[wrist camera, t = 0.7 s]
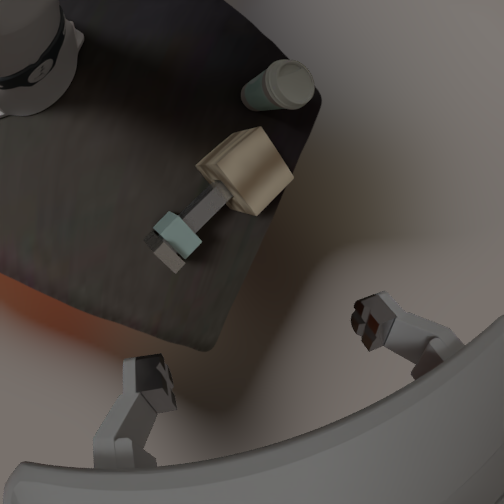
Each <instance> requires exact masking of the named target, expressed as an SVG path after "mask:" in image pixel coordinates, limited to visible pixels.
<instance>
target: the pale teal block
mask: <svg viewBox="0 0 504 504" xmlns="http://www.w3.org/2000/svg"><path fill="white" fill-rule="evenodd" d="M153 228H154V229H155V230H156V231H157V232H158V233H159V234H160V235H161V236H162V237H163V238H164V239H165V240H166V241H167V242H168V243H169V244H170V245H171V246H172V247H173V248H174V249H175V250H176V251H177V252H178V253H179V254H180V255H181V256H182V257H183V258H184V259H186V258H187V257H188V256H189V255H190V254H191V253H192V252H193V251H194V250H195V249H196V248H197V247H198V246H199V245H200V244H201V243H202V241H201V240H200V239H199V237H198V236H197V235H196V234H195V233H194V232H193V231H192V230H191V229H190V228H189V227H188V226H187V224H186V223H185V222H184V221H183V220H182V219H181V218H180V217H179V216H178V215H176V214H174V213H172V212H170V211H169V212H168V213H167V214H166V215H165V216H164V217H163V218H162V219H161V220H160V221H159V222H158V223H157V224H156V225H155V226H154V227H153Z"/></svg>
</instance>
